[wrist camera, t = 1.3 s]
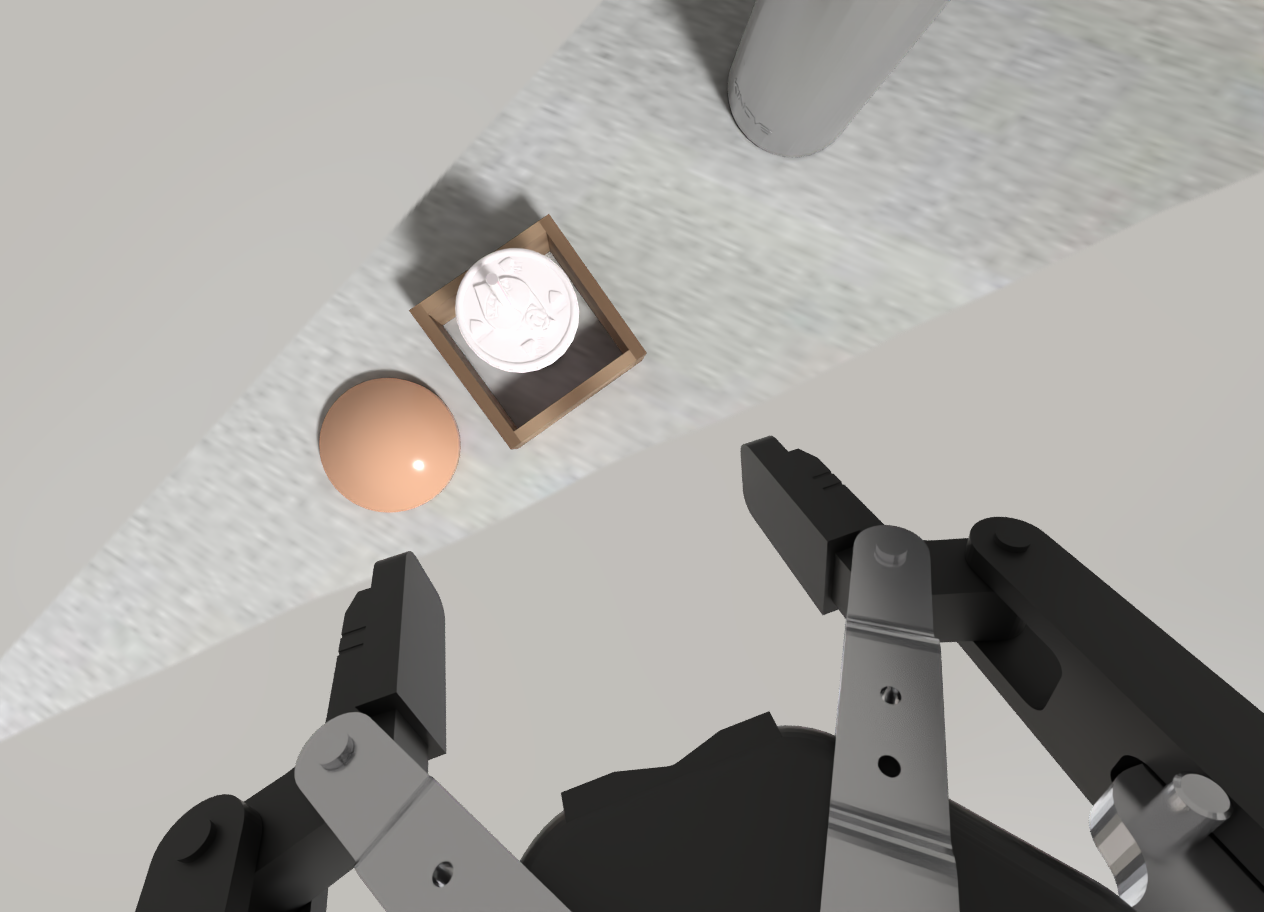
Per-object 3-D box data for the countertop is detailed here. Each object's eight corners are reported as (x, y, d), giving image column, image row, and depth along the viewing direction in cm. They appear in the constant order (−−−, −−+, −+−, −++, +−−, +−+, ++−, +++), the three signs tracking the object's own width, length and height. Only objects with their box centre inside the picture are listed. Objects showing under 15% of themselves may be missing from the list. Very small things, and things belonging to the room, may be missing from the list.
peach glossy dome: (408, 353, 37) (404, 351, 37) (486, 460, 38) (484, 460, 37) (297, 429, 37) (290, 429, 36) (379, 536, 38) (374, 539, 37)
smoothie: (514, 278, 38) (470, 184, 24) (597, 322, 38) (601, 255, 24) (472, 361, 38) (403, 315, 24) (556, 404, 38) (536, 383, 24)
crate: (552, 234, 38) (549, 213, 35) (641, 360, 39) (646, 352, 35) (425, 322, 38) (408, 310, 34) (518, 448, 38) (510, 449, 35)
